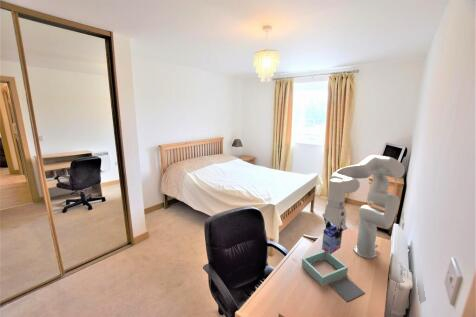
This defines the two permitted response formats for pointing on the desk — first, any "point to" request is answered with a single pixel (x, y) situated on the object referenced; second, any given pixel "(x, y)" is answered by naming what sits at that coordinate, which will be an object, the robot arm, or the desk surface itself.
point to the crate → (328, 277)
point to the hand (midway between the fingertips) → (332, 233)
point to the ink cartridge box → (331, 240)
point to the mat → (346, 289)
